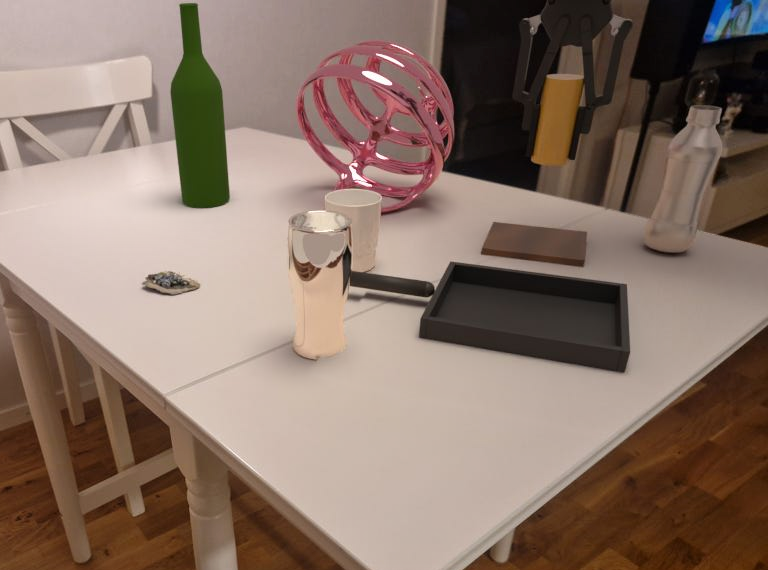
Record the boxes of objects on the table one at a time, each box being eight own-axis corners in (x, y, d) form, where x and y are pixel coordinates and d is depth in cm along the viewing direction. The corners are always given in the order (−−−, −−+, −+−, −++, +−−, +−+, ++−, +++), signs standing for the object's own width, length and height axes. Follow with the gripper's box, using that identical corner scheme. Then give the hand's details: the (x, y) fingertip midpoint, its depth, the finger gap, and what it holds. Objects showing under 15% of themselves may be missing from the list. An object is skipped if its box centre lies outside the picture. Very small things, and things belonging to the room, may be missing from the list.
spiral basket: (345, 115, 91) (436, -18, 97) (231, 135, 112) (312, 25, 119) (436, 247, 107) (508, 126, 114) (321, 243, 129) (388, 141, 135)
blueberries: (153, 273, 94) (151, 261, 93) (207, 276, 93) (206, 263, 92) (136, 293, 88) (134, 280, 88) (193, 296, 87) (192, 283, 86)
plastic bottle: (653, 238, 101) (691, 101, 91) (698, 250, 97) (744, 107, 87) (631, 248, 98) (668, 107, 88) (677, 261, 94) (721, 114, 83)
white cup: (348, 280, 91) (350, 209, 85) (313, 263, 96) (313, 196, 91) (390, 266, 95) (394, 197, 89) (353, 250, 100) (356, 185, 95)
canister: (569, 158, 93) (586, 74, 88) (567, 167, 89) (584, 80, 84) (532, 155, 95) (546, 73, 89) (529, 164, 91) (543, 78, 85)
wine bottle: (238, 196, 125) (226, 1, 108) (212, 210, 118) (195, 5, 101) (199, 191, 128) (182, 1, 111) (172, 204, 121) (149, 5, 105)
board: (585, 240, 101) (587, 231, 100) (582, 270, 92) (584, 260, 91) (492, 230, 106) (493, 221, 105) (480, 257, 97) (481, 247, 96)
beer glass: (301, 328, 79) (300, 206, 71) (357, 337, 77) (362, 213, 69) (280, 356, 74) (275, 227, 66) (339, 366, 71) (342, 235, 64)
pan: (621, 305, 82) (627, 283, 81) (623, 376, 68) (630, 351, 67) (447, 281, 90) (450, 261, 88) (418, 341, 76) (420, 318, 74)
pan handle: (435, 294, 83) (437, 280, 82) (432, 301, 81) (433, 286, 80) (345, 281, 87) (345, 267, 86) (340, 287, 85) (340, 273, 84)
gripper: (505, -37, 80) (480, 157, 92) (671, -41, 74) (621, 168, 86) (512, -38, 86) (488, 145, 98) (667, -41, 80) (620, 154, 92)
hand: (550, 155), depth 92 cm, fingers closed on canister, 5 cm apart
